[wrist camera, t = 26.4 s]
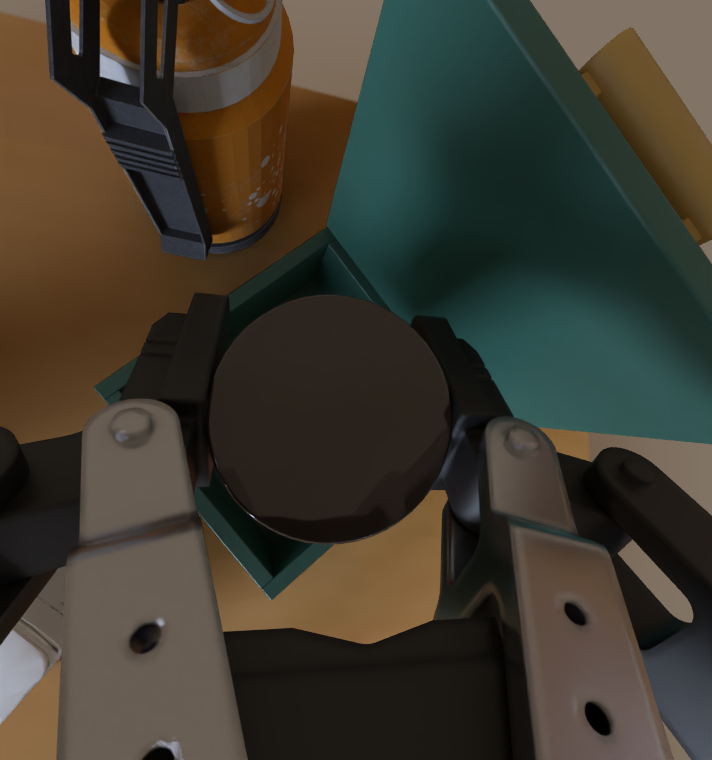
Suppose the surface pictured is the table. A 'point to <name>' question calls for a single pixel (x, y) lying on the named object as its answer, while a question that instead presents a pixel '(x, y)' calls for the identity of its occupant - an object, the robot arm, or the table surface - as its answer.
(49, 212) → the table surface
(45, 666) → the ink box
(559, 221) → the lid
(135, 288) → the table surface
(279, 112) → the canister
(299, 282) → the chest
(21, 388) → the table surface
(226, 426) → the jar
